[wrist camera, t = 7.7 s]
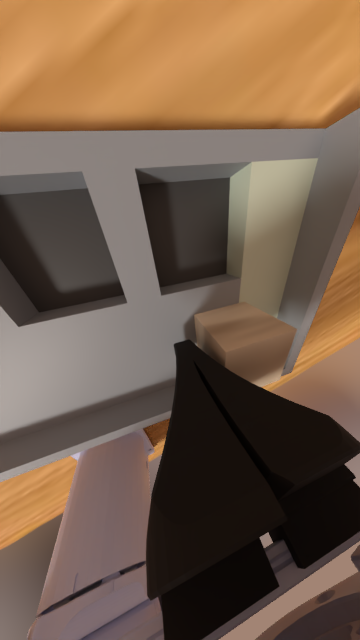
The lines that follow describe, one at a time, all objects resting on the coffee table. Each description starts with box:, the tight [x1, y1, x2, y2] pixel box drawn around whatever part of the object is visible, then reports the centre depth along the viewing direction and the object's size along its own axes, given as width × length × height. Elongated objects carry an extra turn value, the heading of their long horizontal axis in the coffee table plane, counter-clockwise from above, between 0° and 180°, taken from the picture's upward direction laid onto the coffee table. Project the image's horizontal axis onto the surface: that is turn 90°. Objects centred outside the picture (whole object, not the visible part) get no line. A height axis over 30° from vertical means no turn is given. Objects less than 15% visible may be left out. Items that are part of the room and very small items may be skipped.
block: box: [194, 302, 297, 387], centre depth 9 cm, size 4×4×4 cm
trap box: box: [0, 108, 360, 482], centre depth 9 cm, size 16×26×4 cm, turn 97°
